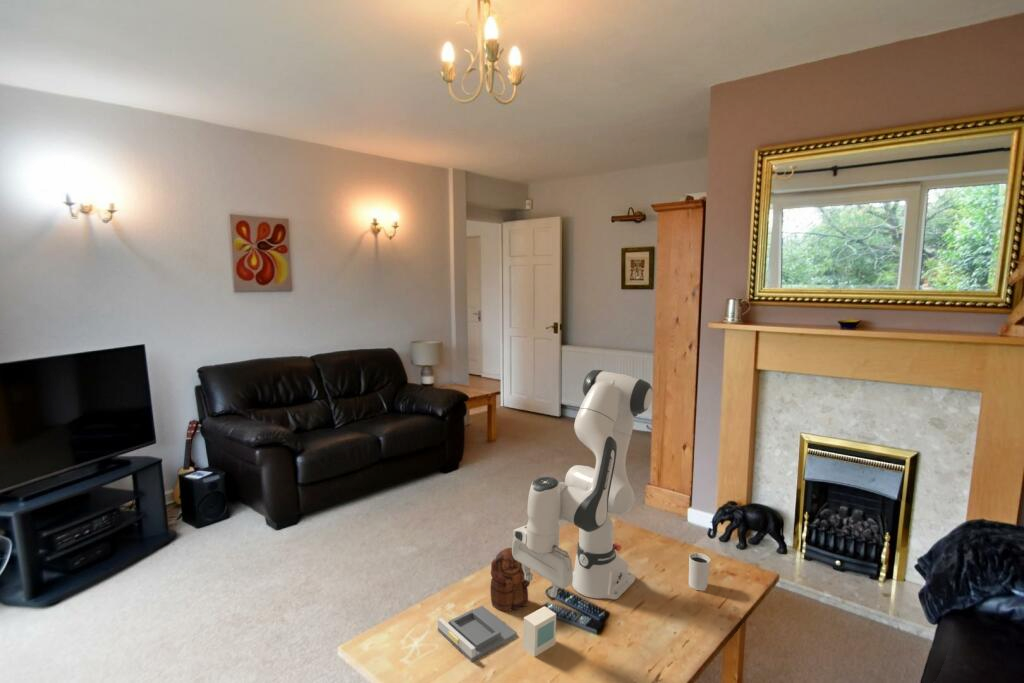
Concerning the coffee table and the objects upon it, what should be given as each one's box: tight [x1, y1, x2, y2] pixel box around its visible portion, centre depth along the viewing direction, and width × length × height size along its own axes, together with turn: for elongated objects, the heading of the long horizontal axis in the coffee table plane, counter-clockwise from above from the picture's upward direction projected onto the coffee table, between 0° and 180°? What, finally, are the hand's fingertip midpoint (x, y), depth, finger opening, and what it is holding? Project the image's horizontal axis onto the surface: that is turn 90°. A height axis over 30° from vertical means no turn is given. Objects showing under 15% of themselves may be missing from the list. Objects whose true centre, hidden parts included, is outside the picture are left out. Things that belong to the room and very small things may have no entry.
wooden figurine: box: [490, 547, 531, 612], centre depth 161 cm, size 12×6×18 cm, turn 110°
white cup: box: [688, 552, 711, 590], centre depth 174 cm, size 7×7×10 cm
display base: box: [437, 605, 518, 662], centre depth 149 cm, size 16×16×4 cm
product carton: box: [522, 605, 557, 658], centre depth 144 cm, size 5×8×9 cm, turn 131°
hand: (540, 587), depth 142 cm, fingers open, 8 cm apart
